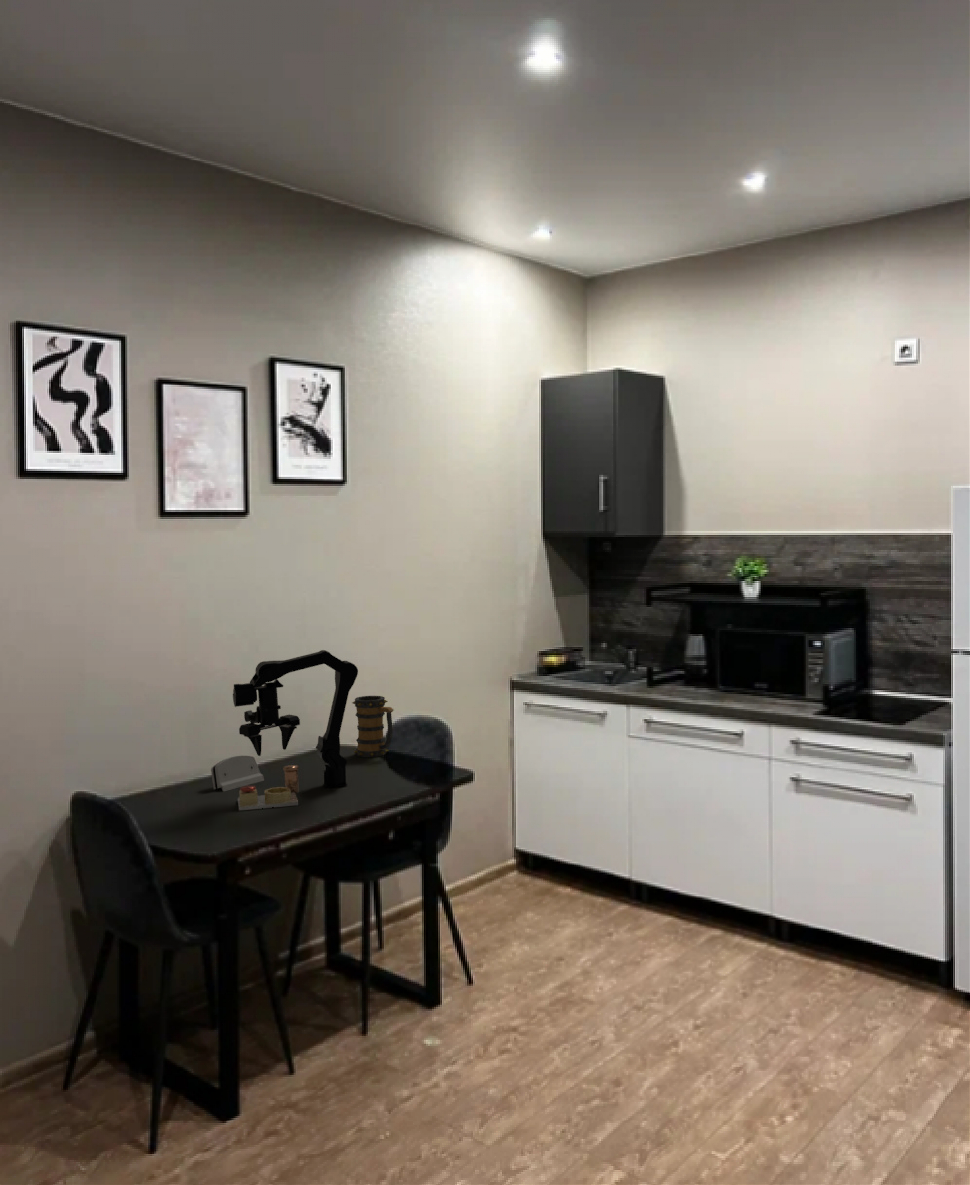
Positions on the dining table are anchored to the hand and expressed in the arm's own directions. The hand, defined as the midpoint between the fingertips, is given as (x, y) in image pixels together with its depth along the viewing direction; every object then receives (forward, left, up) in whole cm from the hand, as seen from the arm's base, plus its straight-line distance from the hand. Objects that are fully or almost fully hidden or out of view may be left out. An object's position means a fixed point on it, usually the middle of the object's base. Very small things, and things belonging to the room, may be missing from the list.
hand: (271, 752), depth 318 cm
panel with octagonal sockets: (+2, +12, -12) cm, 17 cm away
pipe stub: (-6, +2, -13) cm, 14 cm away
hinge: (+11, -14, -13) cm, 22 cm away
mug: (-39, -39, -13) cm, 56 cm away
